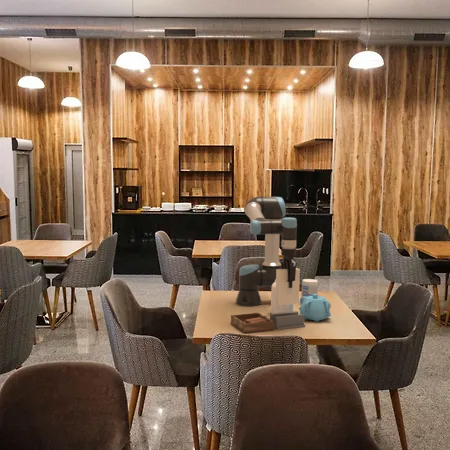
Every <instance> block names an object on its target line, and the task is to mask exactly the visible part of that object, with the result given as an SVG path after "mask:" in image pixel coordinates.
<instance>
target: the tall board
mask: <svg viewBox="0 0 450 450" xmlns="http://www.w3.org/2000/svg"><path fill="white" fill-rule="evenodd" d="M300 271H301V269H300V268H298V267H296V275H295V281H293V282H292V294H287V281H288V270H287V269H276V304H277V305H287V304H293V305H297V304H298V305H299V304H300V277H301V276H300V274H301V273H300Z"/></svg>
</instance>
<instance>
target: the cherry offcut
mask: <svg viewBox="0 0 450 450" xmlns="http://www.w3.org/2000/svg"><path fill="white" fill-rule="evenodd" d="M259 322H266V320H265V319H262V318H260V317H258V318H253V319H247V320H245V323H246V324H249V323H259Z"/></svg>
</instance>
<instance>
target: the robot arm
mask: <svg viewBox="0 0 450 450" xmlns="http://www.w3.org/2000/svg"><path fill="white" fill-rule="evenodd" d="M285 204H286V203H285V201H284V199H283V197H281V196H255V197H252V198H250V199H249V200H247V201H246V203H245V205H244V207H243V209H244V213H245V215H246V216H247V217H248V218H249V220H250V223H249V231H250V234H252V235H265V237H264V261H263V263H261V266H260V265H259V264H258V263H256V264H254V263H253V264H245V265H242V266H240V268H239V274H238V276H239V279H238V280H239V281H238V293H237V296H236V299H235V303H236V304H237V305H238V306H244V307H256V306H260V305H261V304H262V299H261V295H260V292H259V287H272V284H273V283H274V282H275V279H276V269H287V270H288V281H287V294H292V282H293V281H295V275H296V268H297V265H298V263H297V262H296V261H295V259H294V258H295V257H296V256H297V249H296V248H297V230H298V229H297V228H298V224H297V223H298V222H297V221H298V220H297V218H296V217H286V205H285ZM280 235H281V242H280ZM280 244H281V245H280ZM280 246H281V249H280ZM280 250H281V251H280ZM280 253H281V254H280ZM280 255H281V256H283V257H282V258H281V259H280Z"/></svg>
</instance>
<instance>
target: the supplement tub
mask: <svg viewBox="0 0 450 450" xmlns="http://www.w3.org/2000/svg"><path fill="white" fill-rule="evenodd" d="M318 284H319V281H318V280H317V279H312V278H304V279H302V281H301V294H300V298H301V297H304V296H305V297H308V296H312V294H318V289H319V288H318V287H319V286H318ZM304 299H305V298H303V299H302V302H303V301H304Z"/></svg>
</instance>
